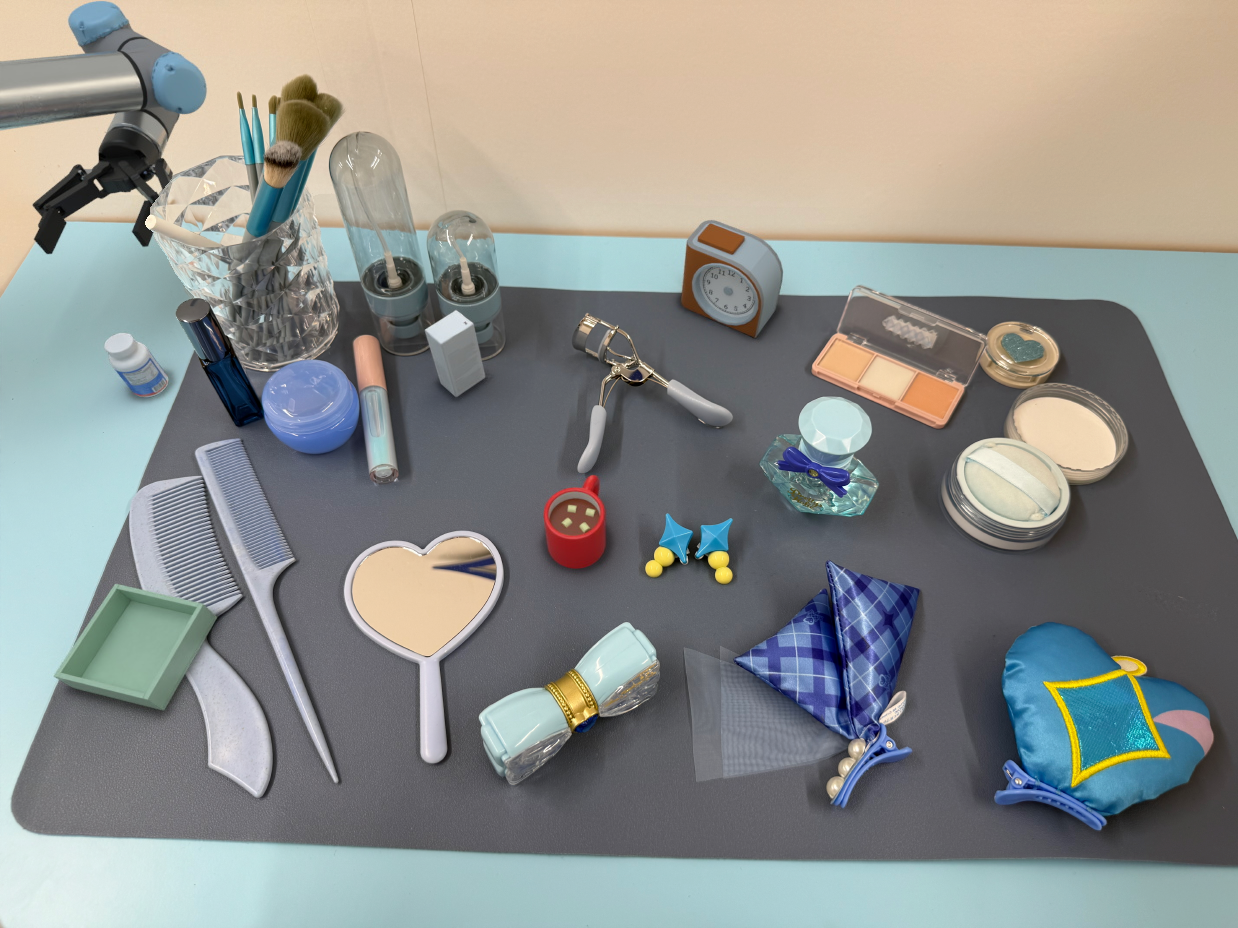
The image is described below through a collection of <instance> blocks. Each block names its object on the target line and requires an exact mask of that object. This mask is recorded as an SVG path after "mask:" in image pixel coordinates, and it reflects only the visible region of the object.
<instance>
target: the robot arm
mask: <svg viewBox="0 0 1238 928" xmlns="http://www.w3.org/2000/svg"><path fill="white" fill-rule="evenodd" d="M67 23H68V27H69V28H70V31H71V32H72V34H73V36H74V38H75V39H76V41H77V45H78V46H79V47H80V48H81V50H82V51H83V52H84V53H77V54H64V55H54V56H43V57H33V58H22V59H21V58H20V59H12V60H2V61H0V132H1V131H7V130H14V129H21V128H26V127H33V126H40V125H47V124H54V123H60V122H61V123H62V122H67V121H74V120H81V119H87V118H93V117H101V116H106V115H113V114H114V116H113V118H112V120H111V122H110V124H109V125H108V128H107V130H106V133H105V135H104V137H103V139H102V141H101V142H100V146H99V147H98V151H97V153H98V154H97V155H98V157H97V158H98V162H97V163H96V164H94V166H93V167H91V168H84V167H83V166H82V164H81V163H77V164H75V165H73V167H72V168H71V169H70V171H69V173H68V174H67V175H65V176H64V177H63V178H61V179H60V180H59V181H58V182H56V184H54V185H53V186H52V187H51V188H50V189H48V191H46V192H45V193H44V194H42V195H41V196H40V197H39V198H38V199H37V200H35V201H34V202H32V207H33V209H34V210H35V211H36V212H37V214H39V215H40V217H41V218H40V220H39V222H38V224H37V228H38V229H37V232H36V234H35V236H34V238H33V241H34V242H35V243H36V244H37V245H38V246H39V248H40V249H42V251H43V252H44V253H45V255H52V254H53V253H54V251H55V249H56V247H57V244H58V242H59V241H60V238H61V236H62V234H63V233H64V230H65V228H66V225H67V223H68V222H67V221H66V220H65V219H67V218H68V217H70V216H71V215H74V214H75V213H76V212H78V211H79V210H81V209H83V208H84V207H86V206H87V205H89V204H90V203H92V202H93V201H95V200H96V199H100V200H103V199H104V198H106V197H108V196H109V195H111V194H118V193H131V192H132V191H134V190H136V191H137V192H138V193H139V194H140V195H141V196H143V197H144V198H145V199H146V200H143V203H142V205H141V208H140V210H139V213H138V215H137V218H136V220H135V222H134V225H133V228H132V230H131V233H132V235H133V236H134V237H135V238H136V240H137V241H138V243H139V244H140V245H141V246H142V247H143V248H145V247H146V248H147V247H149V245H150V243H151V240H152V238H153V235H154V232H152V231H151V230H149V229H148V228H147V227H146V225H145V221H146V219H147V217H148V216H149V215H150V207H151V206H152V204H153V203H154V202H155V200H156V199H157V198H158V197H159V196H160V194H159V193H158V191H155V189H154V188H152V186H150V185H149V184H148V183H147V182H149V181H152V179H153V178H154V177H156V178H157V180H158V182H159V185H160V188H161V190H162V191H163V189H164V188H165V186H166V185H167V184H168V183H169V182H170V180H171V179H173V175H174V171H172V169H171V167H170V166H169V164H168V163H167V161H166V159H165V158H164V157H162V156H163V155H164V152H165V149H166V147H167V145H168V142H169V140H170V137H171V135H172V132H173V131H174V129H175V125H176V124H177V123H178V122H179V121H178V120H179V119H180V116H181V115H189V114H190V115H191V114H192V113H194V112H197V111H198V110H199V109H200V108H201V107H202V106H203V105H204V103H205V101H206V98H207V94H208V93H207V92H208V90H207V89H208V88H207V81H206V78H205V76H204V74H203V72H202V71H201V70H200V69H199V67H198V66H197V65H195V64H194V63H193V62H191V61H190V60H188V59H187V58H186V57H185V56H184V55H182V54H181V53H179V52H175V51H173V50H170V49H169V48H167V47H165V46H163V45H161V44H159V43H157V42H155V41H154V40H151V39H150V38H148V37H146V36H145V35H142V34H140V33H139V32H136V31H135V30H134V29H133V28H132V26H131V24H130V20H129V19H128V18H127V17H126V16H125V14H124V13H123V11H122V10H121V8H120V7H119V6H118V5H117V4H116V3H114V2H111V1H107V0H95V1H91V2H90V1H89V2H88V3H84V4H82V5H80V6H77V7H76V8H75V9H73V11H72V12H71V13H70V14H69V16H68V18H67ZM95 180H96V181H97V183H98V185H100V187H101V188H102V189H99V186H97V184H96V183H95ZM171 181H172V180H171Z"/></svg>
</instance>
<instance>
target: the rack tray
mask: <svg viewBox="0 0 1238 928" xmlns="http://www.w3.org/2000/svg"><path fill="white" fill-rule="evenodd" d="M217 619H218V616H216V615H215V614H214V613H213V611H212V610H210V609H209V607H208V606H207V605H205V604H204V603H201V602H197V601H193V600H189V599H184V598H180V597H177V596H176V597H175V596H171V595H166V594H162V593H158V592H154V591H151V590H145V589H141V588H138V587H131V586H127V585H123V584H118V583H114V585H113V586H112V588H111V589H110V591H109V592H108V594H107V595H106V597H105V598H104V599H103V601H102V602H101V604H100V605H99V607H98V609H97V610H96V611H95V613H94V615H93V616H92V617H91V619H90V621H89V622H88V623H87V625H86V627H85V628H84V630H83V631H82V632H81V634H80V636H79V637H78V639H77V640H76V641H75V643H74V644H73V646H72V647H71V649H70V650H69V652H68V653H67V655H66V657H65V658H64V659H63V660H62V662H61V664H59V667H58V668H57V670H56V671H55V673H54V674H53V677H54V678H55V679H57V680H59V681H60V682H62V683H64V684H66V685H67V686H69V687H71V688H72V689H75V690H80V691H83V692H88V693H92V694H95V695H100V696H104V697H108V698H112V699H116V700H120V701H124V702H128V703H131V704H134V705H135V704H136V705H140V706H142V707H143V706H144V707H148V708H151V709H155V710H160V711H162V712H163V711H165V710H166V709H167V706H168V704H169V703H170V701H171V700H172V697H173V696H174V694H175V692H176V691H177V689H178V687H179V686H180V684H181V683H182V680H183V678H184V676H185V674H186V673H187V671H188V670H189V668H190V666H191V664H192V662H193V661H194V659H195V657H196V656H197V654H198V652H199V650H200V648H201V646H202V645H203V643H204V642H205V639H206V638H207V636H208V634H209V632H210V631H211V629H212V627H213V626H214V624H215V622H216V620H217Z"/></svg>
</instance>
